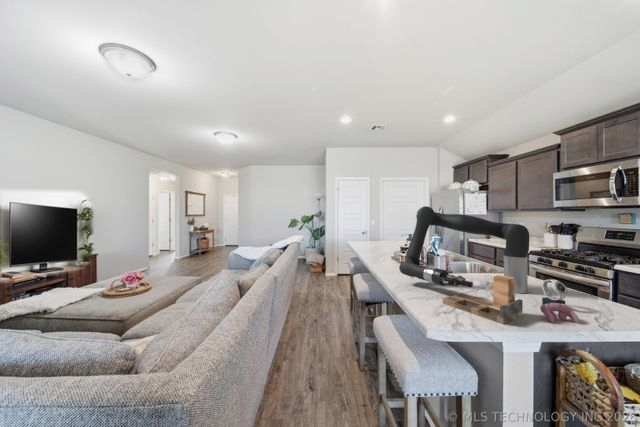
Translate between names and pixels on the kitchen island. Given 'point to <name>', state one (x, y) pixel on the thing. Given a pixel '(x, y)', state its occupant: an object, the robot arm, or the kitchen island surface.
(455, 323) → the kitchen island surface
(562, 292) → the watch
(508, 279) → the block
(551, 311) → the pink arched figurine
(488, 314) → the board
